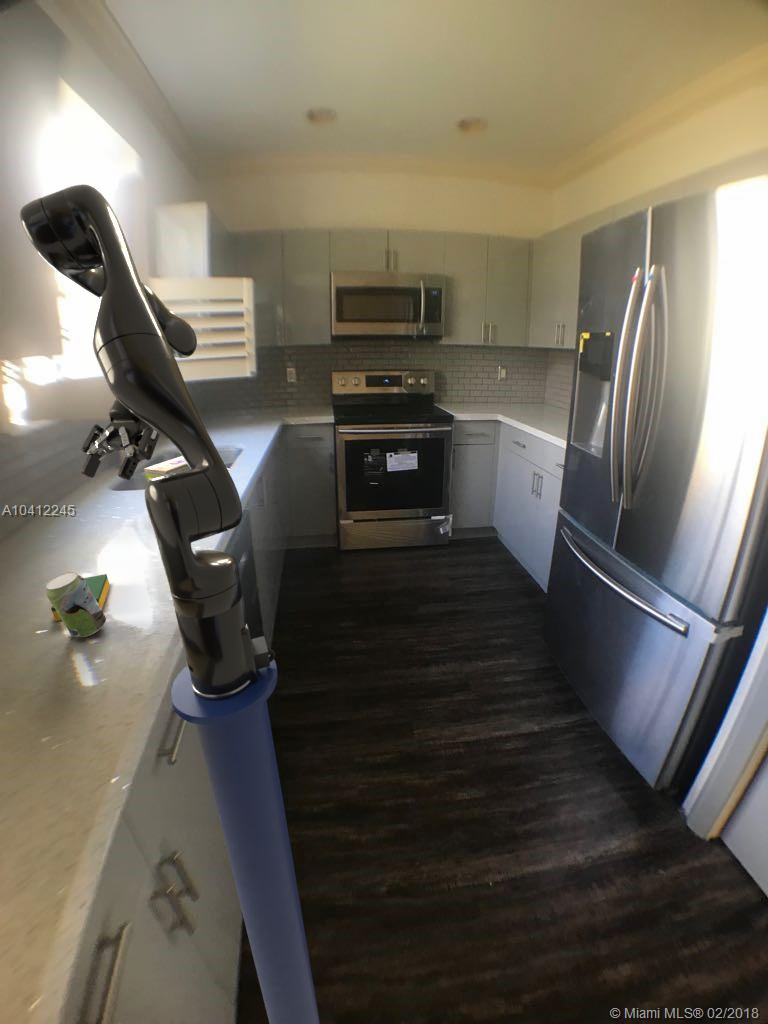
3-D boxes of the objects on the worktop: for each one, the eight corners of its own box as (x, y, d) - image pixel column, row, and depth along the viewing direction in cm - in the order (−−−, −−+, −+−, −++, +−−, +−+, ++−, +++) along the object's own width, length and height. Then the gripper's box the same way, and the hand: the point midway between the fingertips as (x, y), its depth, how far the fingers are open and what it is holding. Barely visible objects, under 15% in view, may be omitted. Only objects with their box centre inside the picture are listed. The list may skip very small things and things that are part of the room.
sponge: (109, 585, 102) (106, 573, 101) (101, 611, 92) (97, 598, 91) (68, 593, 99) (64, 581, 98) (55, 621, 89) (50, 608, 88)
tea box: (191, 497, 155) (182, 454, 150) (213, 500, 151) (205, 457, 146) (153, 512, 143) (142, 467, 137) (176, 517, 139) (165, 470, 133)
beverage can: (114, 627, 87) (97, 571, 83) (73, 648, 81) (52, 590, 77) (97, 617, 90) (80, 563, 86) (56, 637, 85) (36, 581, 80)
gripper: (95, 390, 88) (57, 465, 82) (155, 390, 83) (120, 469, 78) (124, 414, 94) (91, 484, 88) (181, 415, 90) (150, 488, 84)
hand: (104, 476), depth 83 cm, fingers open, 8 cm apart
